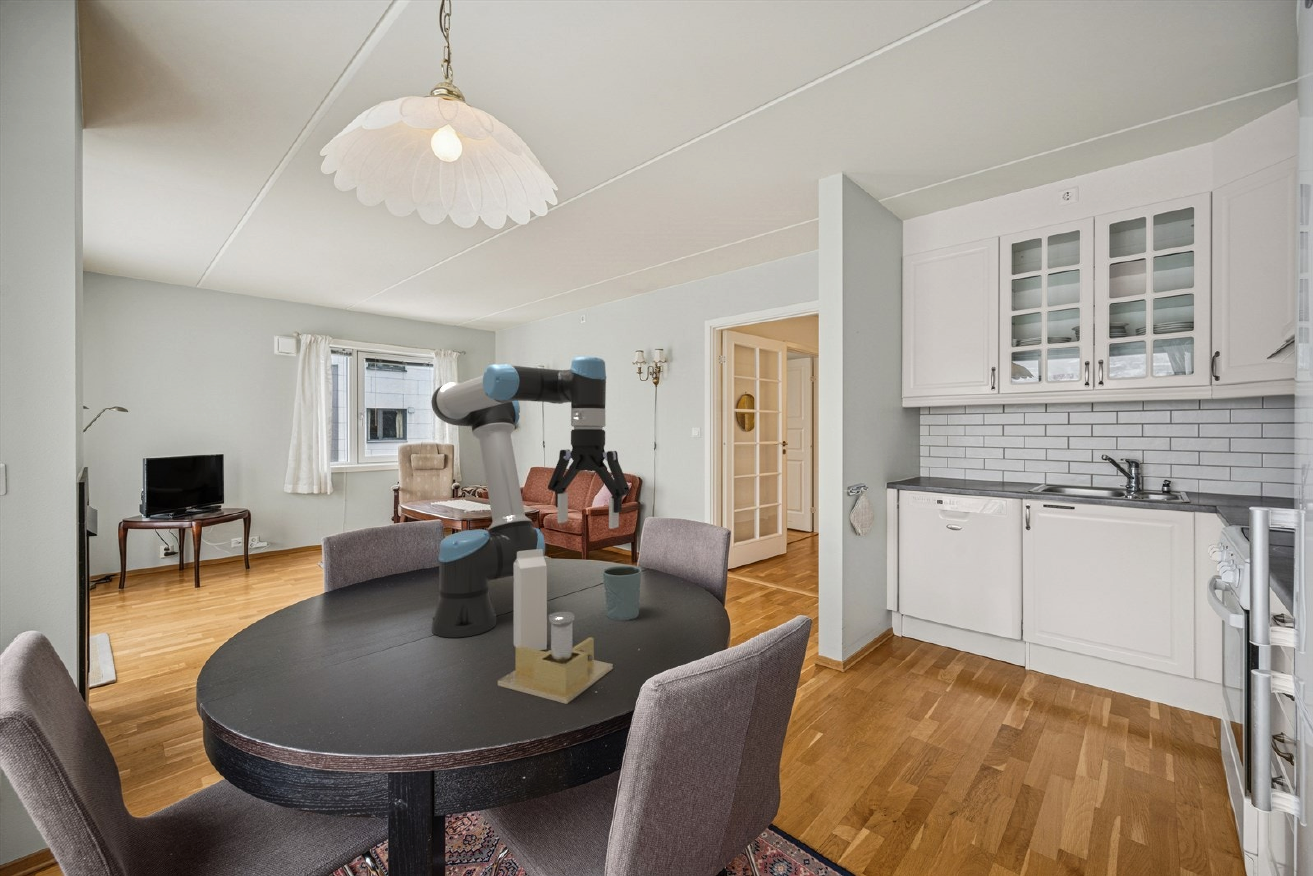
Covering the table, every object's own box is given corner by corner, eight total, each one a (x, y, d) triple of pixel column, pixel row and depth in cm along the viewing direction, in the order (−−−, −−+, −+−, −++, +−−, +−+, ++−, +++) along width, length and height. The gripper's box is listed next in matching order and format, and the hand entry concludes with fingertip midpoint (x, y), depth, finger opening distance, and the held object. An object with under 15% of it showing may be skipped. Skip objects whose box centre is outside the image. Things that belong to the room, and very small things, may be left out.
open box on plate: (566, 704, 96) (566, 670, 96) (497, 685, 103) (497, 654, 103) (612, 669, 110) (612, 639, 110) (549, 654, 117) (549, 627, 117)
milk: (546, 649, 120) (547, 551, 120) (519, 655, 117) (520, 554, 117) (538, 640, 126) (539, 546, 125) (512, 645, 123) (513, 548, 122)
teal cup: (648, 613, 145) (648, 569, 145) (626, 624, 136) (626, 577, 136) (618, 606, 150) (618, 564, 150) (595, 617, 142) (595, 571, 142)
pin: (543, 686, 101) (543, 617, 101) (558, 675, 105) (558, 610, 105) (564, 691, 99) (564, 621, 99) (579, 680, 103) (579, 613, 103)
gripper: (532, 427, 120) (532, 522, 121) (628, 428, 109) (627, 533, 109) (553, 428, 127) (553, 517, 127) (646, 428, 116) (645, 527, 116)
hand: (587, 525), depth 118 cm, fingers open, 13 cm apart
